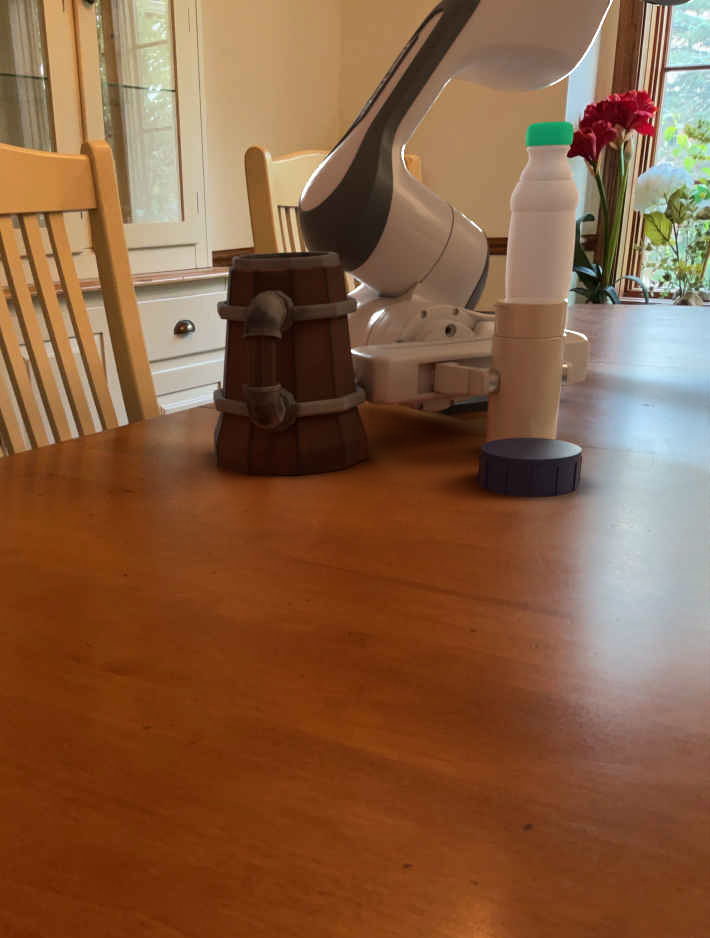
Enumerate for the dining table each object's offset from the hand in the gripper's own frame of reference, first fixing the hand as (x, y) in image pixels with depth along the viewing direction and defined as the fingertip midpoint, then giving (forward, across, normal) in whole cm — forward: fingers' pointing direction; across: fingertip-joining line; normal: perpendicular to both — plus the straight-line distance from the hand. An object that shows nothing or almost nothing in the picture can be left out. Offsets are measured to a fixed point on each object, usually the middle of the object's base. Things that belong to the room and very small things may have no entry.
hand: (529, 379), depth 77 cm
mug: (-7, -17, +6) cm, 19 cm away
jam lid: (+7, -5, +4) cm, 9 cm away
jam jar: (0, 0, +6) cm, 6 cm away
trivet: (-22, +10, +6) cm, 25 cm away
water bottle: (-34, +27, +6) cm, 44 cm away
